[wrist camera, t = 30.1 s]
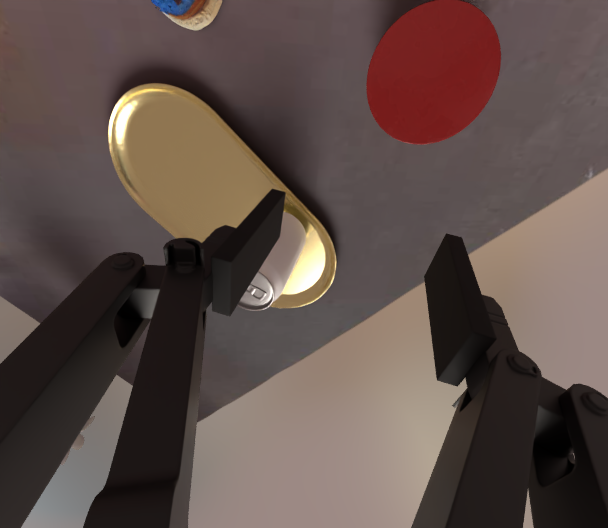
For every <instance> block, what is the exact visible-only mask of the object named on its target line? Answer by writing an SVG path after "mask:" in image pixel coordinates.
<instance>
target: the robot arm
mask: <svg viewBox="0 0 608 528" xmlns="http://www.w3.org/2000/svg"><path fill="white" fill-rule="evenodd" d="M285 195H286V192H284V191H280V190H276V189H271V190H270V191H269V192H268V193H267V195H266V196H265V197H264V198H263V199H262V200H261V201H260V202H259V203H258V205H257V206H256V207H255V208H254V209H253V210H252V211H251V212H250V213H249V215H248V216H247V217H246V218H245V219H244V220H243V221H242V222H241V223H240V225H239V226H238V227H237V228H235V227H231V226H228V225H224V226H221V227H219V228H217V229H215V230H214V231H213V232H212V233H211V234H210V236H208V237H207V238H206V239H205V241H203V242H202V243H201V242H200V241H198V240H196V239H193V238H177V239H173V240H171V241H169V242H168V243H166V244H165V246H164V247H163V248H164V255H165V263H166V266H158V265H145V264H144V260H143V257H141V256H140V255H139V254H136V253H130V252H123V253H117V254H114V255H112V256H109V257H108V258H106V259H105V260H104V261H103V262H102V263H101V264H100V265H99V266H98V267H97V268H96V269H95V270H94V271H93V272H92V273H91V274H90V275H89V276H88V277H87V278H86V279H85V280H84V281H83V282H82V283H81V284H80V285H79V286H78V287H77V288H76V289H75V290H74V291H73V292H72V293H71V294H70V295H69V296H68V297H67V298H66V299H65V300H64V301H63V302H62V303H61V304H60V305H59V306H58V307H57V308H56V309H55V310H54V311H53V312H52V313H51V314H50V315H49V316H48V317H47V318H46V319H45V320H44V321H43V322H42V323H41V324H40V325H39V326H38V327H37V328H36V329H35V330H34V331H33V332H32V333H31V334H30V335H29V336H28V337H27V338H26V339H25V340H24V341H23V342H22V343H21V344H20V345H19V346H18V347H17V348H16V349H15V350H14V351H13V352H12V353H11V354H10V355H9V356H8V357H7V358H6V359H5V360H4V361H3V362H2V363H1V364H0V528H21V526H22V525H23V523H24V521H25V520H26V518H27V517H28V515H29V513H30V512H31V510H32V509H33V507H34V506H35V504H36V502H37V500H38V499H39V498H40V496H41V494H42V493H43V491H44V489H45V488H46V486H47V485H48V483H49V482H50V480H51V478H52V477H53V475H54V474H55V472H56V470H57V469H58V467H59V465H60V464H61V462H62V461H63V459H64V458H65V456H66V454H67V453H68V451H69V450H70V448H71V446H72V445H73V443H74V442H75V440H76V438H77V437H78V435H79V434H80V432H81V430H82V429H83V427H84V426H85V424H86V422H87V421H88V419H89V418H90V416H91V414H92V412H93V411H94V409H95V408H96V406H97V405H98V403H99V402H100V400H101V398H102V396H103V395H104V394H105V392H106V390H107V389H108V387H109V385H110V384H111V382H112V381H113V379H114V377H115V376H116V374H117V373H118V371H119V370H120V368H121V366H122V365H123V363H124V362H125V360H126V358H127V357H128V355H129V354H130V352H131V350H132V349H133V347H134V346H135V344H136V342H137V341H138V339H139V338H140V336H141V334H142V333H143V331H144V330H145V328H146V326H147V325H148V323H149V322H150V320H151V323H150V326H149V330H148V334H147V337H146V341H145V344H144V348H143V352H142V355H141V359H140V363H139V366H138V370H137V374H136V377H135V381H134V384H133V388H132V392H131V396H130V399H129V403H128V407H127V410H126V414H125V417H124V421H123V425H122V428H121V432H120V435H119V439H118V443H117V446H116V450H115V454H114V457H113V461H112V464H111V468H110V472H109V475H108V479H107V481H106V484H105V486H104V488H103V490H102V491H101V492H100V493H99V494H98V495H97V496H96V497H95V499H94V501H93V502H92V504H91V506H90V509H89V511H88V514H87V517H86V520H85V523H84V526H83V528H188V511H189V499H190V488H191V478H192V468H193V457H194V446H195V435H196V424H197V414H198V403H199V393H200V382H201V371H202V360H203V350H204V339H205V328H206V317H207V313H206V309H207V307H208V306H209V305H210V303H211V302H212V311H214V312H217V313H220V314H223V315H227V316H231V314H232V312H233V311H234V309H235V308H236V306H237V304H238V303H239V301H240V300H241V298H242V296H243V295H244V293H245V292H246V290H247V289H248V287H249V285H250V284H251V282H252V281H253V279H254V277H255V276H256V274H257V273H258V271H259V269H260V268H261V266H262V265H263V263H264V261H265V260H266V258H267V257H268V255H269V253H270V252H271V250H272V249H273V247H274V245H275V244H276V242H277V241H278V239H279V237H280V233H281V225H282V218H283V210H284V203H285ZM424 278H425V286H426V294H427V303H428V311H429V319H430V327H431V335H432V344H433V351H434V360H435V368H436V377H437V380H438V381H441V382H444V383H448V384H451V385H455V386H458V385H459V384H460V383H461V382H462V381H463V379H464V378H466V383H467V387H468V388H467V389H466V390H465V392H464V393H463V394H462V395H461V396H460V397H459V398H458V400H457V401H456V402H455V403H454V404H453V405H452V406H453V407H456V406H457V405H458V406H457V409H456V411H455V414H454V417H453V419H452V422H451V424H450V427H449V430H448V432H447V435H446V438H445V440H444V443H443V446H442V449H441V451H440V454H439V456H438V459H437V462H436V464H435V467H434V469H433V472H432V474H431V477H430V480H429V482H428V485H427V488H426V490H425V493H424V496H423V498H422V501H421V503H420V506H419V509H418V512H417V514H416V517H415V519H414V522H413V525H412V527H411V528H523V522H524V514H525V505H526V498H527V491H528V490H529V497H530V504H531V512H532V519H533V525H534V528H608V398H607V397H605V396H604V395H602V394H601V393H600V392H598V391H596V390H595V389H593V388H591V387H589V386H586V385H582V384H573V385H572V386H571V387H570V388H568V389H567V390H566V389H563V388H562V387H560V386H558V385H556V384H554V383H552V382H550V381H548V380H547V379H545V378H543V377H542V375H541V371H540V369H539V368H538V366H537V365H536V363H535V362H533V361H532V360H531V359H530V358H529V357H528V356H526V355H525V354H523V353H522V352H519V350H518V348H517V345H516V343H515V340H514V338H513V335H512V333H511V331H510V328H509V327H508V323H507V320H506V319H505V316H504V313H503V311H502V308H501V307H500V306H499V304H498V303H497V302H496V301H495V300H494V299H493V298H491V297H488V296H484V295H482V294H481V291H480V288H479V286H478V283H477V280H476V277H475V274H474V271H473V268H472V265H471V262H470V260H469V257H468V254H467V251H466V248H465V245H464V242H463V239H462V238H461V237H458V236H454V235H450V234H446V235H445V237H444V239H443V241H442V243H441V245H440V247H439V249H438V251H437V252H436V254H435V256H434V258H433V260H432V262H431V264H430V266H429V268H428V270H427V272H426V274H425V276H424ZM151 318H152V319H151ZM573 453H574V455H573ZM574 456H575V459H574Z"/></svg>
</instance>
